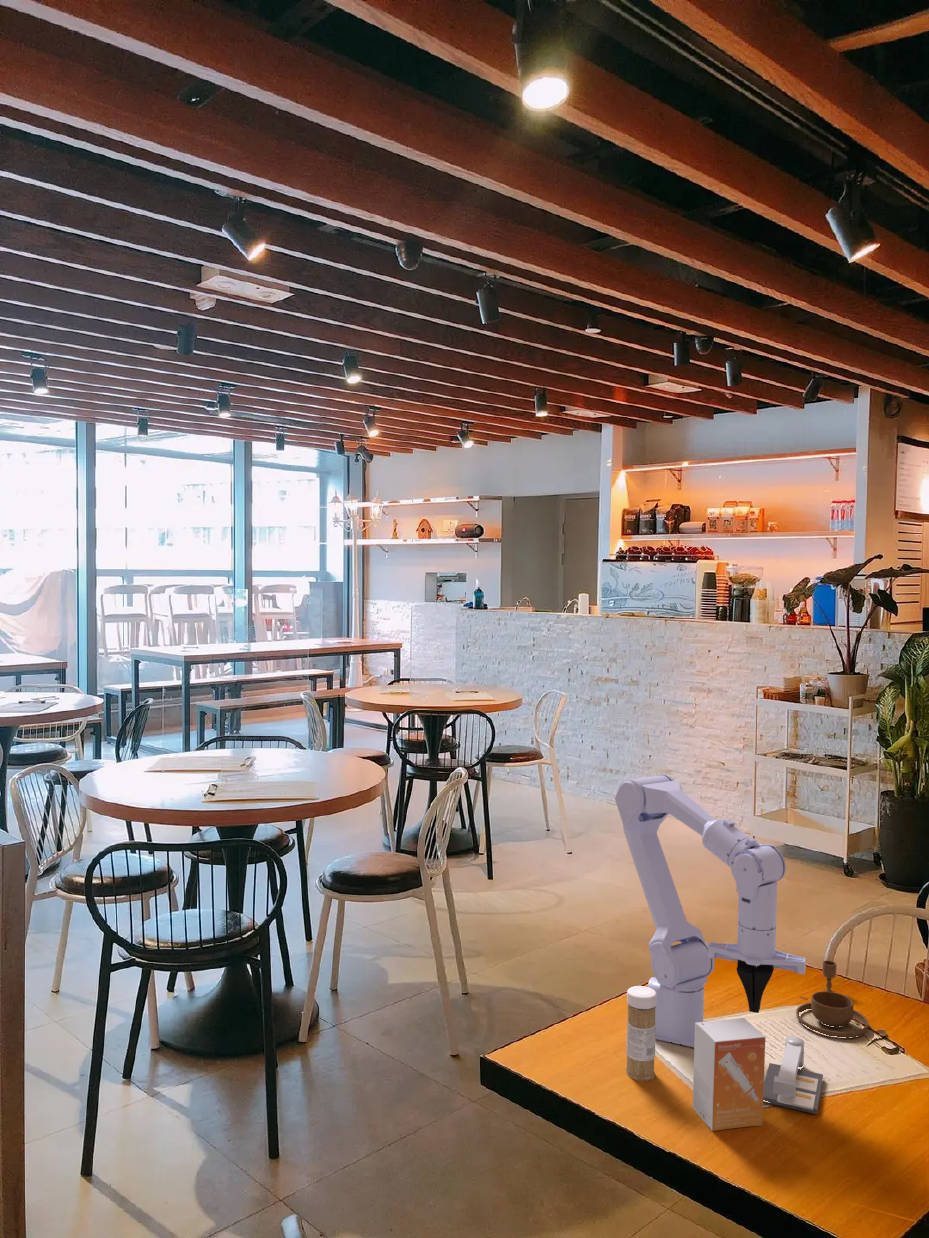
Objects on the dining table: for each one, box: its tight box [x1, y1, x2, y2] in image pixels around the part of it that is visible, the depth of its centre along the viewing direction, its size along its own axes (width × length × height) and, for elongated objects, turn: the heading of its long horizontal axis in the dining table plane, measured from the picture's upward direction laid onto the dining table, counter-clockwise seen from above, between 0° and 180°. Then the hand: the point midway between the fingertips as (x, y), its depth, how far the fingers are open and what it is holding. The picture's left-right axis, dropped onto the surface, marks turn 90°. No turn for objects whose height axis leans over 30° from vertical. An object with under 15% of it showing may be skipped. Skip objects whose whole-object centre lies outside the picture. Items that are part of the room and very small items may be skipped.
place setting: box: [795, 960, 887, 1038], centre depth 171 cm, size 18×20×6 cm
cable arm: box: [773, 1035, 805, 1098], centre depth 147 cm, size 16×3×2 cm, turn 155°
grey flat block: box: [763, 1053, 824, 1116], centre depth 147 cm, size 8×15×2 cm, turn 155°
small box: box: [692, 1017, 766, 1132], centre depth 138 cm, size 8×6×13 cm
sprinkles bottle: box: [625, 985, 657, 1082], centre depth 149 cm, size 5×5×14 cm
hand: (754, 1009), depth 149 cm, fingers closed
